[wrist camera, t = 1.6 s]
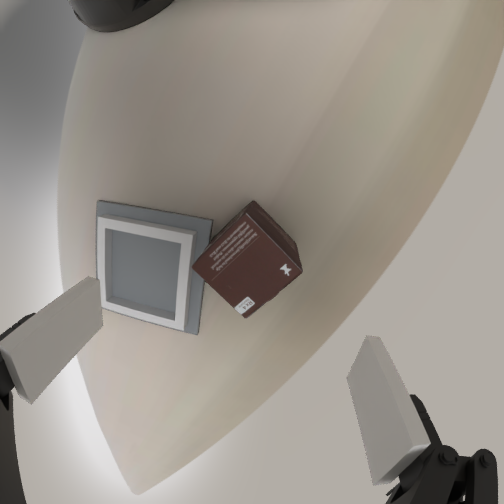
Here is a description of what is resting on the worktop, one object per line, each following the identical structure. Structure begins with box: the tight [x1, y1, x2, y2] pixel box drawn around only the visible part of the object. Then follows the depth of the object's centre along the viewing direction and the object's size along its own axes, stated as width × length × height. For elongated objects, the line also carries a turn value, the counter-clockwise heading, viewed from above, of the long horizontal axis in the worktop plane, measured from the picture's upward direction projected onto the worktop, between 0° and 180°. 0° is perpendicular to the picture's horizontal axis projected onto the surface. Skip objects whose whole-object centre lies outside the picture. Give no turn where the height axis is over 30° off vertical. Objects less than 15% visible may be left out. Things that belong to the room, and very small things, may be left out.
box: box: [192, 201, 303, 318], centre depth 24 cm, size 6×6×7 cm
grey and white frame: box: [96, 200, 213, 335], centre depth 28 cm, size 13×13×2 cm
